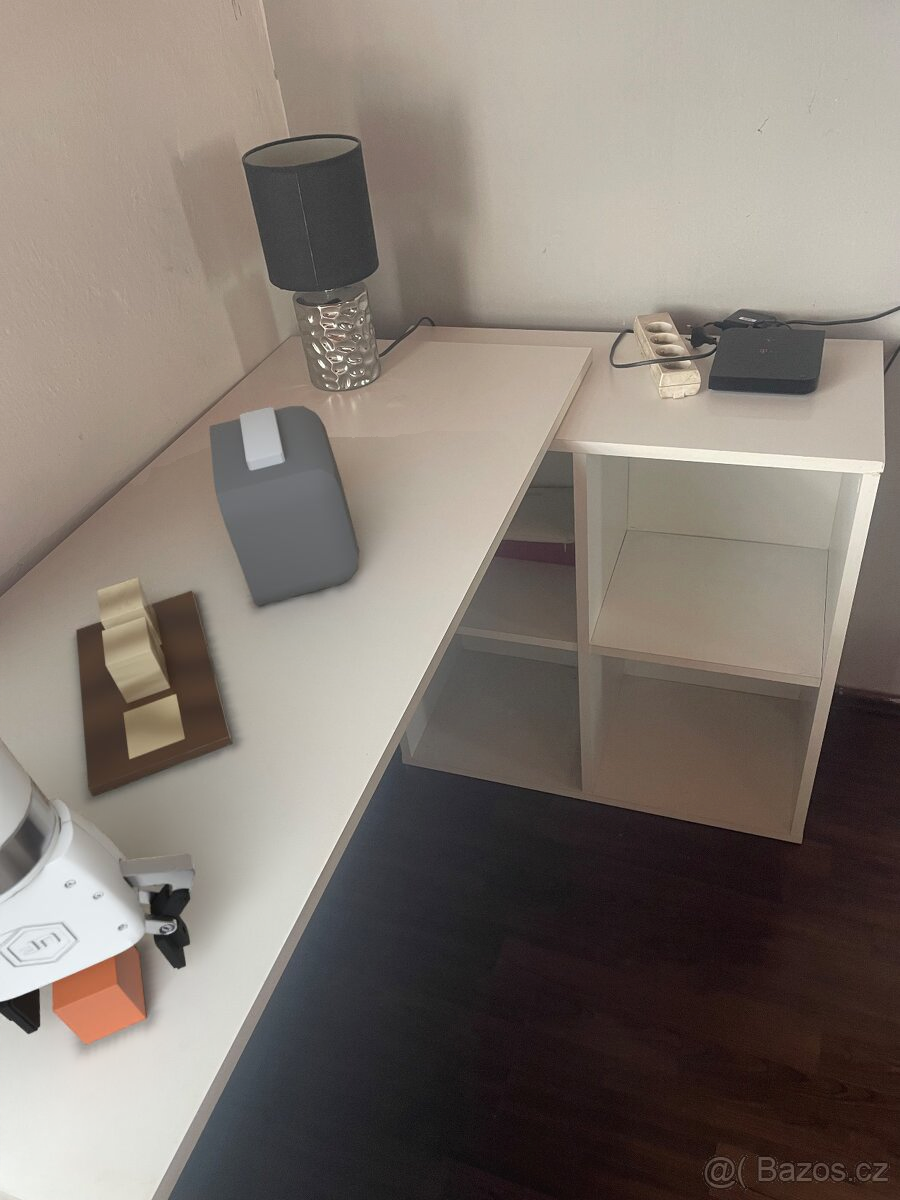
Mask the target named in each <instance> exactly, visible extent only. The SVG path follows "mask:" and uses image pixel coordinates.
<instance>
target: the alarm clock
mask: <svg viewBox="0 0 900 1200" xmlns="http://www.w3.org/2000/svg"><path fill="white" fill-rule="evenodd" d="M209 441H210V451H211V453H210V454H211V464H212V465H211V466H212V476H213V484H214V485H213V486H214V490H215V497H216V500H217V503H218V506H219V511H220V513H221V516H222V519H223V522H224V525H225V528H226V531H227V534H228V536H229V539H230V541H231V544H232V547H233V549H234V552H235V554H236V557H237V560H238V563H239V565H240V568H241V570H242V573H243V576H244V578H245V581H246V584H247V586H248V589H249V591H250V594H251V598H252V599H253V602H254V604H255V605H256V606H257V607H260V606H264V605H268V604H270V603H275V602H278V601H282V600H286V599H289V598H293V597H297V596H300V595H304V594H308V593H312V592H316V591H320V590H322V589H327V588H331V587H335V586H338V585H341V584H343V583H344V582H346V581H348V580H350V579H352V577H353V576H354V575H355V573H356V572H357V570H359V561H360V560H359V559H360V548H359V545H358V540H357V536H356V532H355V528H354V524H353V520H352V516H351V513H350V508H349V504H348V501H347V497H346V493H345V489H344V486H343V482H342V478H341V475H340V474H341V473H340V471H339V468H338V465H337V461H336V458H335V453H334V452H333V448H332V445H331V441H330V438H329V435H328V432H327V429H326V426H325V424H324V423H323V421H322V419H321V418H320V416H319V415H318V413H317V412H315V411H314V410H311V409H310V408H308V407H306V406H304V405H290V406H286V407H281V408H277V409H274V407H273V406H269V407H264V408H259V409H256V410H251V411H248V412H243V413H241V414H239V418H237V419H233V420H229V421H225V422H224V421H223V422H221V423H216V424H212V425H210V426H209Z"/></svg>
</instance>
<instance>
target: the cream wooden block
mask: <svg viewBox="0 0 900 1200" xmlns="http://www.w3.org/2000/svg"><path fill="white" fill-rule="evenodd" d="M102 637H103V646H104V655H105V664H106V667H107V669H108V671H109V672H110V674H111V676H112V678H113V679H114V681H115V683H116V685H117V686H118V688H119V690H120V692H121V693H122V695H123V697H124V699H125V701H126V702H127V703H130V702H133V701H136V700H138V699H141V698H144V697H147V696H149V695H152V694H155V693H158V692H161V691H163V690H166V689H169V688H170V684H169V678H168V673H167V668H166V663H165V658H164V654H163V652H162V650H161V648H160V646H159V644H158V642H157V639H156V637H155V635H154V633H153V631H152V629H151V627H150V625H149V623H148V621H147V619H146V617H142V618H139V619H136V620H133V621H130V622H127V623H124V624H121V625H118V626H116V627H113V628H110V629H107V630H104V631H102Z"/></svg>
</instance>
